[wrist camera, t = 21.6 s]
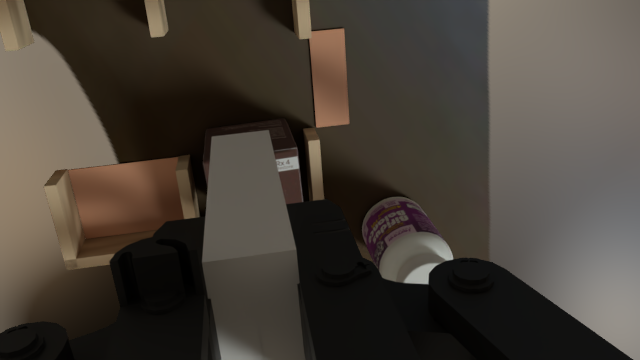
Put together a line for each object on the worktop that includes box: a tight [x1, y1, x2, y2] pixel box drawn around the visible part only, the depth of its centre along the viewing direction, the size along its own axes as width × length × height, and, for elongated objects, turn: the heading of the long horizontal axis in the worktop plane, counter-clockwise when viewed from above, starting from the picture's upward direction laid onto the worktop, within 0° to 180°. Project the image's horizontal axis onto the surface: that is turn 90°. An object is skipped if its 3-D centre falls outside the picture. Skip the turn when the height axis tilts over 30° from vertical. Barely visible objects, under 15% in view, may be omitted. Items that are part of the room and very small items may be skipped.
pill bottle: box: [362, 197, 453, 284], centre depth 43 cm, size 5×5×10 cm
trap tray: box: [0, 0, 349, 270], centre depth 39 cm, size 24×22×3 cm
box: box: [203, 118, 303, 204], centre depth 40 cm, size 6×6×7 cm
